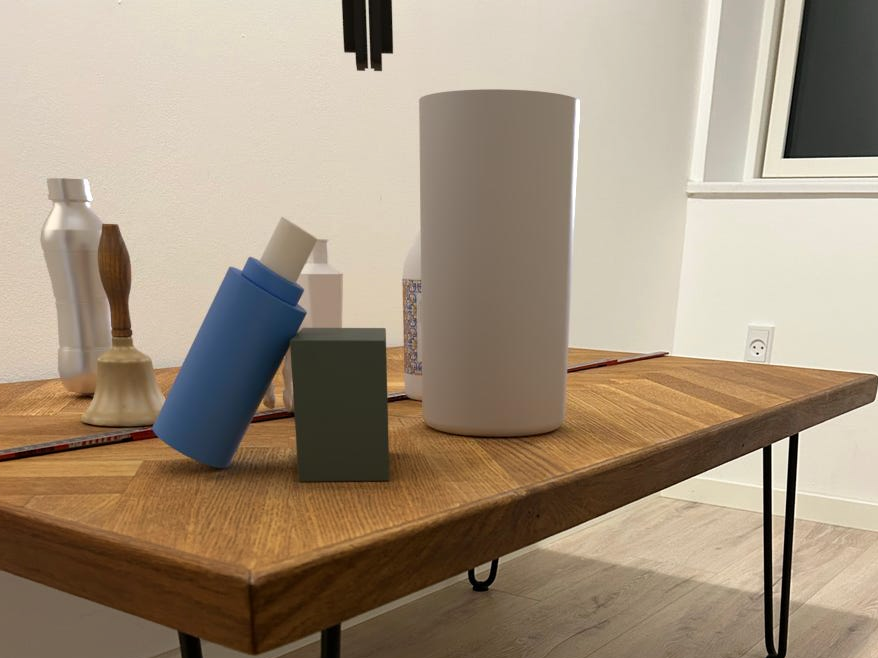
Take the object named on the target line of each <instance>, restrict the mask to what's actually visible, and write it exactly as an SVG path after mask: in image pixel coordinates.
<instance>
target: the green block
mask: <svg viewBox="0 0 878 658" xmlns="http://www.w3.org/2000/svg"><path fill="white" fill-rule="evenodd" d="M290 351H291V367H292V391H293V398H294V412H293V414H294V428H295V430H294V431H295V441H296V442H295V444H296V460H297V476H298V482H299V483H300V482H301V483H303V482H304V483H305V482H306V483H309V482H311V483H312V482H313V483H315V482H317V483H318V482H389V481H390V445H389V444H390V443H389V442H390V441H389V438H390V437H389V406H388V403H389V402H388V366H387V365H388V364H387V362H388V361H387V360H388V359H387V329H386V328H385V327H342V328H302V329H301V330H300V331H299V332H298V333H297V334H296V335H295V336H294V337H293V338H292V339H291V340H290Z"/></svg>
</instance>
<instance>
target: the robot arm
mask: <svg viewBox="0 0 878 658" xmlns="http://www.w3.org/2000/svg"><path fill="white" fill-rule="evenodd" d="M367 7H368V8H367ZM367 11H368V18H367ZM341 12H342V14H341V15H342V17H341V18H342V38H343V52H344V53H345V54H355V67H356V71H357V72H365V71H366V69H367V70H369V64H370V69H373V72H383V54H385V55H386V54H387V55H388V54H389V55H393V54H394V31H393V30H394V29H393V27H394V26H393V0H341ZM367 19H368V20H367ZM367 21H368V22H367ZM367 23H368V24H367ZM367 25H368V26H367ZM368 32H369V33H368ZM368 34H369V35H368ZM368 36H369V37H368ZM368 39H369V49H368ZM368 52H369V53H368ZM369 62H370V63H369Z"/></svg>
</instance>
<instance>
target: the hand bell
mask: <svg viewBox="0 0 878 658" xmlns="http://www.w3.org/2000/svg"><path fill="white" fill-rule="evenodd" d="M98 267H99V273H100V278H101V282H102V285H103V288H104V290H105V293H106V295H107V298H108V301H109V306H110V316H111V327H112V330H111V334H112V348H111V349H110V350H109V351H107V352H106V353H105V354H103V355H101V356H99V358H98V360H97V366H98V372H97V386H96V391H95V395H94V396H93V398H92V400H91V402H90V404H89V406H88V408H86V410H85V411H84V412H83V413H82V415H81V417H80V421H81V422H82V423H84V424H88V425H92V426H102V427H142V426H153V425H154V423H155V421H156V419H157V417H158V415H159V412H160V410H161V408H162V406H163V404H164V402H165V400H166V398H165V395H164V394H163V392H162V390H161V388H160V386H159V383H158V381H157V377H156V374H155V370H154V365H153V361H152V359H151V357H150V356H149V355H147V354H145V353H144V352H142V351H140V350H139V349H137V348H136V347H135V345H134V340H133V329H132V322H131V321H132V320H131V316H130V315H131V314H130V307H129V306H130V305H129V303H130V293H131V288H132V265H131V257H130V253H129V250H128V248H127V245H126V242H125V240H124V238H123V235H122V233H121V230H120V226H119V224H117V223H104V224H102V232H101V237H100V241H99V247H98Z"/></svg>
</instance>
